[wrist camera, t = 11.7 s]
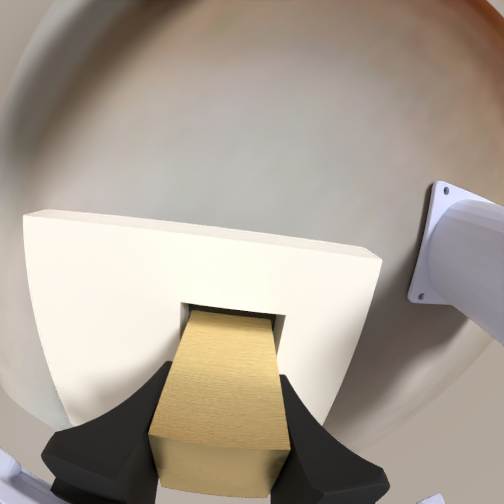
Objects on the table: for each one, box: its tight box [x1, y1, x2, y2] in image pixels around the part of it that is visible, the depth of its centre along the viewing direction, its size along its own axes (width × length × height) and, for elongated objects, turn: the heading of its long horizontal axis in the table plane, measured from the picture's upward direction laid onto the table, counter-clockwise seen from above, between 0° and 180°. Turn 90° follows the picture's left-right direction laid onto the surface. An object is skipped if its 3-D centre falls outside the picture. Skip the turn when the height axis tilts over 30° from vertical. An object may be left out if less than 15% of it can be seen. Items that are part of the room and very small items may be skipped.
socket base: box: [23, 209, 382, 426], centre depth 16 cm, size 20×18×2 cm
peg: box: [148, 310, 291, 498], centre depth 10 cm, size 4×4×8 cm
